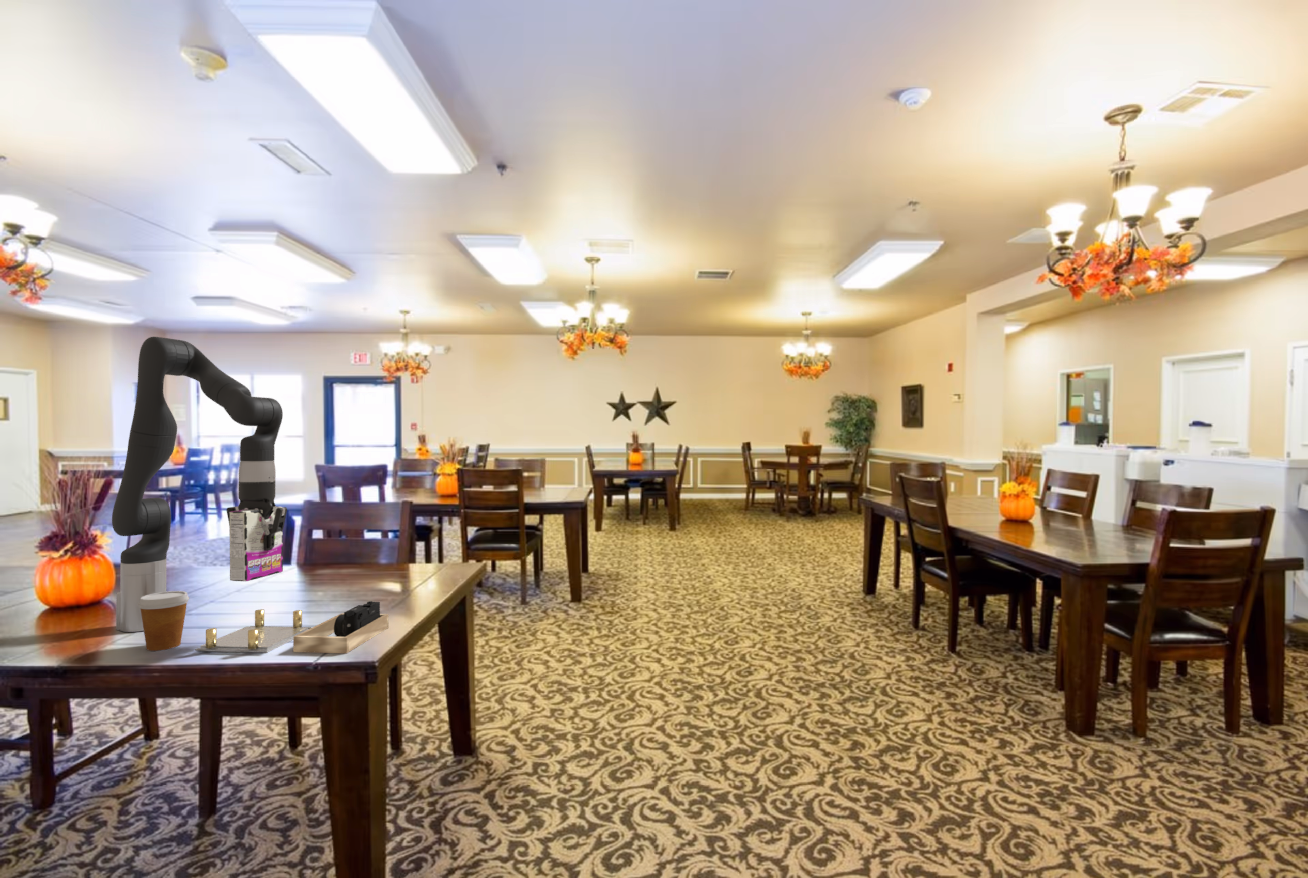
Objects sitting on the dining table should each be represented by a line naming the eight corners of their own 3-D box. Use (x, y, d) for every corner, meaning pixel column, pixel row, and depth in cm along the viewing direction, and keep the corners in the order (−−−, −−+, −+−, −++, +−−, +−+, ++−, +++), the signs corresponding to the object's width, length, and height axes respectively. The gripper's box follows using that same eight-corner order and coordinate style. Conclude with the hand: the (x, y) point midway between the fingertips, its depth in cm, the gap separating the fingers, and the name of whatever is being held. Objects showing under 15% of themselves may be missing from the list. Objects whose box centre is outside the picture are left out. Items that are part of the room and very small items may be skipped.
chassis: (195, 653, 141) (195, 630, 141) (251, 629, 159) (251, 609, 159) (262, 654, 140) (262, 631, 140) (311, 630, 158) (311, 610, 158)
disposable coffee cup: (147, 656, 139) (147, 602, 139) (130, 648, 144) (130, 596, 144) (196, 644, 147) (196, 593, 147) (178, 637, 152) (179, 588, 152)
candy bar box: (266, 571, 156) (267, 505, 156) (283, 572, 155) (284, 506, 155) (227, 581, 145) (228, 510, 145) (245, 582, 144) (246, 511, 144)
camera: (357, 627, 161) (357, 596, 161) (384, 628, 161) (384, 597, 161) (326, 645, 147) (326, 611, 147) (355, 646, 146) (356, 612, 146)
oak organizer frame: (293, 652, 142) (293, 636, 142) (341, 626, 162) (341, 613, 162) (346, 653, 141) (346, 637, 141) (388, 627, 161) (388, 614, 161)
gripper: (216, 480, 147) (216, 552, 146) (275, 480, 146) (275, 553, 146) (239, 478, 154) (239, 547, 154) (295, 479, 153) (295, 547, 153)
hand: (256, 549), depth 150 cm, fingers closed on candy bar box, 5 cm apart
